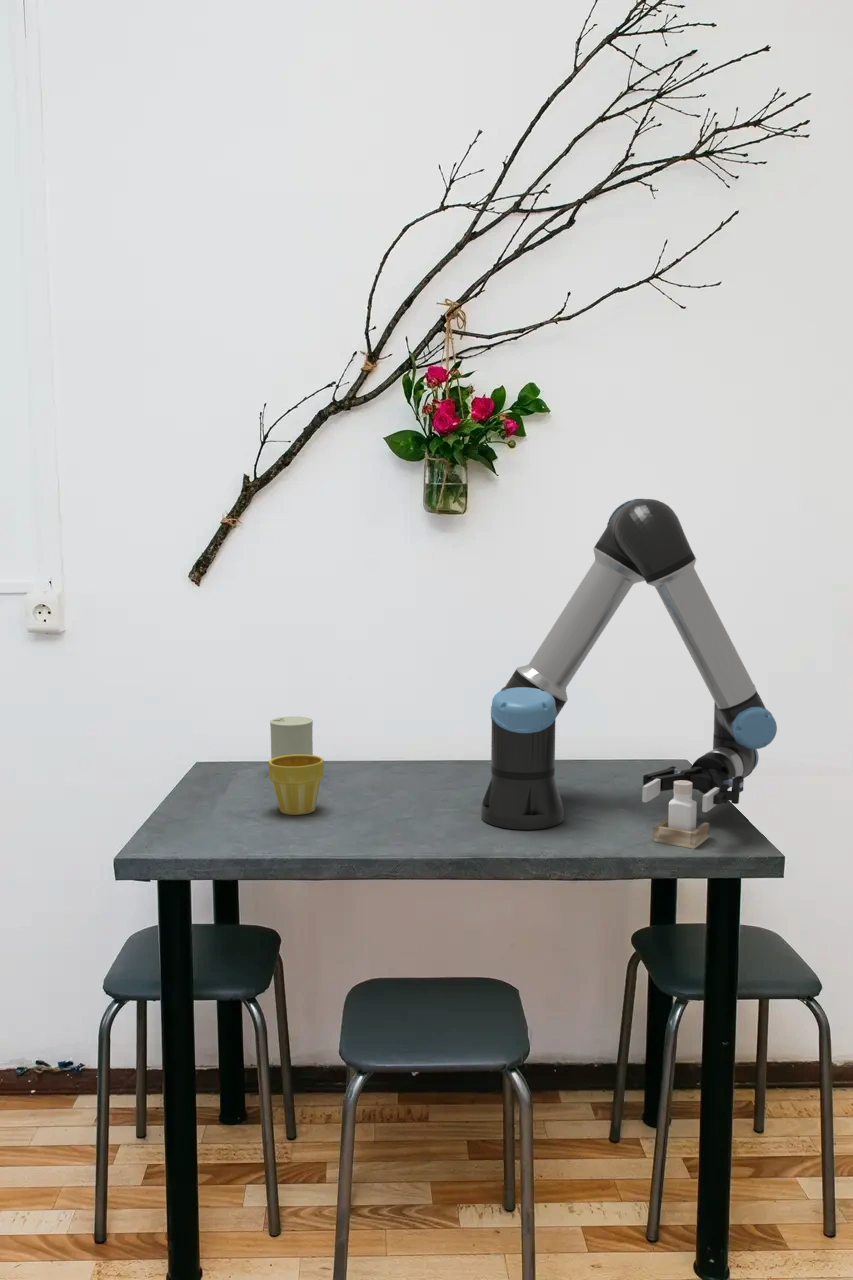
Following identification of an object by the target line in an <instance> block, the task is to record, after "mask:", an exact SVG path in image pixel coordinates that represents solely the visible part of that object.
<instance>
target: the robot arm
mask: <svg viewBox="0 0 853 1280" xmlns="http://www.w3.org/2000/svg"><path fill="white" fill-rule="evenodd" d="M593 553H594V561H593V563H592V565H591V566H590V567H589V569H588V571H587V572H586V574H585V576H584V577H583V579H582V580H581V582H580V583H579V585H578V587H577V588H576V589H575V591H574V593H573V594H572V596H571V597H570V599H569V601H568V602H567V603H566V605H565V607H564V609H563V610H562V612H561V613H560V614H559V616H558V618H557V619H556V621H555V622H554V624H553V626H552V627H551V629H550V631H549V632H548V633H547V635H546V637H545V638H544V640H543V641H542V643H541V644H540V646H539V647H538V649H537V651H536V652H535V654H534V655H533V657H532V658H531V660H530V661H529V663H528V664H526V665H522V666H518V667H516V669H515V670H514V672H513V673H512V675H511V677H510V678H509V680H508V681H507V682H506V685H505V686H504V687H502V688H501V690H499V691H498V692H497V693H495V694H494V696H493V698H492V701H491V706H490V720H491V745H490V746H491V747H490V748H491V751H490V752H491V754H490V757H491V759H490V760H491V761H490V763H491V764H490V767H491V768H490V769H491V771H490V779H489V782H488V785H487V788H486V790H485V792H484V793H485V794H484V796H483V799H482V803H481V810H480V811H481V812H480V815H481V816H480V817H481V819H482V820H483V821H484V822H485V823H487V824H489V825H492V826H495V827H499V828H504V829H510V830H525V831H527V830H541V829H547V828H548V829H549V828H552V827H555V826H558V825H559V824H561V823H562V822H563V821H564V810H565V809H564V805H563V802H562V801H563V800H562V798H561V795H560V791H559V788H558V785H557V781H556V779H555V777H556V776H555V774H556V773H555V772H556V771H555V769H556V767H555V765H556V719H557V717H558V716H559V714H560V713H561V711H562V709H563V708H564V706H565V705H566V703H567V702H568V695H567V687H568V686H569V684H570V682H571V681H572V680H573V678H574V676H575V675H576V674H577V671H578V670H579V668H580V667H581V666H582V664H583V662H584V661H585V660H586V658H587V656H588V655H589V653H590V652H591V650H592V649H593V647H594V645H596V642H597V641H598V639H599V638H600V636H601V635H602V633H603V632H604V631H605V629H606V627H607V625H608V624H609V623H610V621H611V620H612V618H613V616H614V615H615V613H616V612H617V610H618V609H619V607H620V606H621V604H622V603H623V601H624V600H625V598H626V596H627V595H628V593H629V591H630V590H631V589H632V587H633V585H635V584H637V583H641V582H645V583H646V584H647V585H649V586H652V587H654V588H655V590H656V592H657V593H658V595H659V598H660V599H661V601H662V603H663V605H664V608H665V609H666V611H667V613H668V614H669V616H670V618H671V620H672V622H673V624H674V626H675V628H676V630H677V632H678V634H679V636H680V637H681V639H682V641H683V643H684V645H685V647H686V649H687V650H688V653H689V655H690V656H691V658H692V661H693V662H694V664H695V666H696V668H697V670H698V672H699V674H700V675H701V679H702V680H703V682H704V683H705V686H706V687H707V689H708V692H709V693H710V695H711V697H712V699H713V701H714V707H713V709H714V710H713V716H714V717H713V739H712V741H713V742H712V750H710V751H708V752H706V753H705V754H703V755H702V756H700V757H698V758H697V759H696V760H695V761H694V762H693V763H692V765H691V767H690V768H689V769H688V768H687V769H682V770H680V771H678V768H677V767H676V766H674V765H672V766H669V767H667V768H666V769H661V770H658V771H654V772H652V773H648V774H644V775H643V776H642V778H643V779H642V794H641V796H642V797H641V801H642V802H643V803H648V802H649V801H651V800H653V799H655V798H656V797H657V796H659V795H661V792H667V791H671V790H672V791H674V781H678V780H686V781H690V782H692V790H696V791H697V790H698V792H700V793H702V794H703V795H702V801H701V802H702V803H701V804H702V805H701V806H702V807H701V812H703V813H707V812H709V811H711V809H713V808H714V807H716V806H717V805H718V806H719V805H722V804H727V803H728V801H731V804H733V805H734V804H735V805H737V804H740V793H742V792H743V791H744V783H745V782H744V781H745V780H744V779H745V778H747V777H748V776H751V775H750V774H752V772H753V771H754V770H755V769H756V768H757V765H758V762H759V759H760V758H759V752H758V750H759V749H763V748H766V747H767V746H768V745H770V744H771V743H772V742H773V741H774V739H775V738H776V735H777V732H778V726H777V722H776V719H775V718H774V716H773V714H772V713H771V711H769V710H768V709H767V708H766V706H765V704H764V703H763V700H762V698H761V696H760V694H759V692H758V691H757V688H756V685H755V683H754V682H753V680H752V678H751V676H750V675H749V672H748V670H747V669H746V667H745V665H744V662H743V661H742V659H741V657H740V655H739V652H738V651H737V649H736V647H735V645H734V643H733V641H732V639H731V638H730V636H729V633H728V632H727V629H726V628H725V626H724V624H723V621H722V620H721V618H720V615H719V614H718V612H717V610H716V607H715V606H714V604H713V602H712V600H711V598H710V597H709V595H708V592H707V591H706V589H705V587H704V585H703V583H702V580H701V579H700V577H699V575H698V573H697V571H696V569H695V565H696V562H697V558H696V556H695V554H694V551H693V550H692V548H691V546H690V543H689V541H688V538H687V537H686V533H685V532H684V529H683V527H682V524H681V521H680V520H679V517H678V516H677V514H676V513H675V511H674V510H673V509H672V508H671V507H670V506H669V505H668V504H666V503H665V502H664V501H663V502H662V501H660V500H659V499H653V498H634V499H630V500H627V501H625V502H623V503H622V504H620V505H619V506H618V507H616V508H615V510H614V511H613V512H612V514H611V515H610V516H609V518H608V522H607V525H606V528H605V529H604V531H603V533H602V534H601V536H600V537H599V539H598V541H597V542H596V543H595V545H594V547H593ZM730 788H731V790H729V789H730Z"/></svg>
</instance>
